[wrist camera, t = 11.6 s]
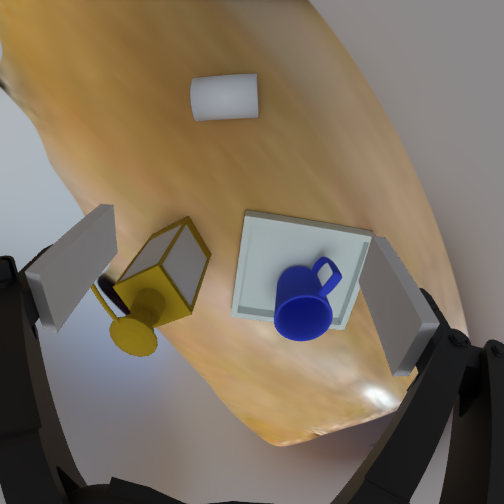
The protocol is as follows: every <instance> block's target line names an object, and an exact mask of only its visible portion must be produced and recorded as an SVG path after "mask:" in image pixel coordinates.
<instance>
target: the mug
mask: <svg viewBox="0 0 504 504" xmlns="http://www.w3.org/2000/svg"><path fill="white" fill-rule="evenodd" d="M326 263H328V264H329V266H330V268H331V270H332V272H333V274H332V276H331V277H330V278H329V279H328V281H327V282H326V283H325V284H324V285H323V287H322V284H321V282H320V280H319V278H318V276H317V274H318V272H319V270H320V269H321V267H322V266H323V265H324V264H326ZM341 279H342V274H341V273H340V271H339V269H338V267H337V266H336V264H335V263H334V262H333V261H332V260H331V259H329V258H327V257H320V258H319V259H318V260H317V261H316V262H315V264H314V265H313V267H312V270H311V269H309V268H307V267H303V266H296V267H292V268H289V269H287V270H286V271H285V272H283V273H282V275H281V276H280V278H279V280H278V283H277V290H276V301H275V311H274V324H275V327H276V329H277V331H278V332H279V333H280V334H281V335H282V336H284V337H285V338H288V339H290V340H294V341H308V340H312V339H315V338H317V337H319V336H321V335H322V334H323V333H325V332H326V331H327V329H328V328H329V327H330V325H331V323H332V319H333V312H332V308H331V306H330V304H329V301H328V299H327V296H326V295H328V294H329V293H330V292H331V291H332V290H333V289H334V288H335V287H336V286H337V285H338V283H339V282H340V281H341Z"/></svg>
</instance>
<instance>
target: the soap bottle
mask: <svg viewBox="0 0 504 504" xmlns="http://www.w3.org/2000/svg"><path fill="white" fill-rule="evenodd" d="M210 257H211V253H210V251H209V249H208V248H207V246H206V244H205V243H204V241H203V239H202V238H201V236H200V234H199V232H198V231H197V229H196V227H195V226H194V224H193V222H192V221H191V219H190V217H189V216H188V217H186V218H184V219H182V220H180V221H178V222H176V223H174V224H172V225H170V226H168V227H166V228H164V229H162V230H160V231H158V232H156V233H154V234H152V235H151V237H150V238H149V239H148V240H147V242H146V243H145V244H144V246H143V247H142V248H141V250H140V251H139V252H138V254H137V255H136V256H135V257H134V259H133V260H132V261H131V263H130V264H129V266H128V267H127V268H126V270H125V271H124V272H123V274H122V275H121V276H120V278H119V279H118V281H117V282H116V283H115V286H113V288H114V289H115V291H116V292H117V293H118V295H119V296H120V298H121V299H122V300H123V302H124V303H125V304H126V306H127V307H128V308H129V310H130V312H131V314H130V315H126V316H125V317H119V318H117V317H116V315H115V314H114V313H113V311H112V310H111V309H110V307H109V306H108V305H107V303H106V302H105V300H104V299H103V298H102V296H101V295H100V293H99V291H98V290H97V288H96V286H95V285H94V283H93V284H92V286H91V289H92V291H93V292H94V294H95V296H96V297H97V299H98V300H99V301H100V303H101V304H102V306H103V307H104V309H105V310H106V311H107V312H108V314H109V315H110V316H111V318H112V319H113V320H114V321H113V322H112V323H111V326H110V329H109V330H110V336H111V338H112V340H113V341H114V343H115V344H116V345H117V346H118V347H119V348H120V349H121V350H122V351H124V352H126V353H128V354H130V355H134V356H139V357H141V356H149V355H150V354H152V353H154V352H155V350H156V348H157V346H158V345H157V337H156V335H155V334H154V328H155V327H158V326H161V325H164V324H166V323H169V322H172V321H175V320H177V319H180V318H183V317H186V316H188V315H191V314H192V311H193V309H194V306H195V303H196V300H197V296H198V293H199V290H200V287H201V284H202V281H203V278H204V275H205V272H206V269H207V266H208V263H209V260H210Z"/></svg>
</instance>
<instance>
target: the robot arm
mask: <svg viewBox="0 0 504 504" xmlns="http://www.w3.org/2000/svg"><path fill="white" fill-rule="evenodd" d="M117 252H118V251H117V241H116V230H115V218H114V205H108V204H100V205H99V206H98V207H97V208H95V209H94V210H93V211H92V212H90V213H89V214H88V215H87V216H86V217H84V218H83V219H82V220H81V221H80V222H78V223H77V224H76V225H75V226H74V227H73V228H71V229H70V230H69V231H68V232H67V233H66V234H65V235H63V236H62V237H61V238H60V239H59V240H58V241H57V242H56V243H54V244H52V245H50V246H48V247H46V248H44V249H43V250H42V251H41V252H40V253H38V255H37V256H35V257H34V258H33V259H32V261H30V262H29V263H28V264H27V265H26V266H25V267H24V268H23V269H22V270H21V271H19V272H17V268H16V264H15V260H14V258H13V257H11V256H0V484H1V488H2V491H3V495H4V498H5V502H6V504H186V503H183V502H181V501H179V500H176V499H174V498H172V497H169V496H167V495H165V494H163V493H161V492H158V491H156V490H154V489H152V488H150V487H147V486H143V485H139V484H135V483H132V482H128V481H124V480H121V479H118V478H114V477H112V478H111V481H110V484H97V485H90V486H87V484H86V482H85V481H84V479H83V477H82V476H81V474H80V473H79V471H78V469H77V467H76V465H75V462H74V460H73V457H72V455H71V452H70V450H69V447H68V445H67V441H66V439H65V436H64V433H63V430H62V427H61V424H60V421H59V418H58V415H57V412H56V409H55V405H54V401H53V398H52V395H51V391H50V387H49V383H48V379H47V376H46V371H45V366H44V362H43V357H42V352H41V348H40V342H39V337H38V331H37V328H36V325H35V323H36V321H37V320H38V319H39V318H40V321H41V323H42V326H43V328H44V329H46V330H50V331H53V332H57V333H58V332H59V330H60V328H61V327H62V326H63V324H64V323H65V321H66V320H67V318H68V317H69V316H70V314H71V313H72V312H73V310H74V309H75V307H76V306H77V305H78V303H79V302H80V300H81V299H82V298H83V296H84V295H85V294H86V292H87V291H88V290H89V288H90V287H91V286H92V284H93V283H94V282H95V280H96V279H97V278H98V276H99V275H100V274H101V273H102V271H103V270H104V269H105V267H106V266H107V265H108V263H109V262H110V261H111V260H112V259H113V257H114V256H115V255H116V254H117ZM358 282H359V285H360V288H361V290H362V293H363V295H364V298H365V300H366V303H367V305H368V308H369V311H370V313H371V316H372V319H373V321H374V324H375V327H376V330H377V332H378V335H379V338H380V341H381V343H382V346H383V349H384V352H385V355H386V358H387V361H388V364H389V367H390V370H391V373H392V376H409V375H410V373H411V372H412V370H413V369H414V367H415V365H416V367H417V370H418V372H419V373H418V374H417V376H416V377H415V379H414V380H413V382H412V383H411V385H410V386H409V388H408V389H407V391H408V392H407V394H406V396H405V397H404V399H403V401H402V403H401V404H400V406H399V408H398V409H397V411H396V413H395V415H394V416H393V418H392V419H391V421H390V423H389V424H388V426H387V427H386V429H385V431H384V432H383V434H382V435H381V437H380V438H379V440H378V441H377V443H376V444H375V446H374V447H373V449H372V450H371V452H370V453H369V455H368V456H367V457H366V459H365V460H364V461H363V463H362V464H361V466H360V467H359V468H358V470H357V471H356V472H355V474H354V475H353V476H352V478H351V479H350V480H349V481H348V483H347V484H346V485H345V487H344V488H343V489H342V490H341V492H340V493H339V494H338V495H337V496H336V498H335V499H334V500H333V501H332V502H331V503H330V504H410V503H409V502H410V499H411V497H412V495H413V493H414V491H415V489H416V488H417V486H418V484H419V482H420V480H421V478H422V476H423V474H424V472H425V470H426V468H427V466H428V464H429V462H430V460H431V458H432V456H433V454H434V452H435V449H436V447H437V445H438V443H439V440H440V438H441V436H442V433H443V431H444V428H445V426H446V423H447V421H448V418H449V415H450V413H451V410H452V408H453V405H454V408H453V421H452V431H451V439H450V447H449V454H448V461H447V467H446V473H445V478H444V483H443V488H442V493H441V497H440V502H439V504H504V344H503V343H501V342H499V341H496V340H489V341H487V343H486V344H485V346H484V347H483V348H480V347H476V346H472V345H471V342H470V340H469V338H468V337H467V336H466V335H465V334H464V333H462V332H461V331H459V330H457V329H452V328H450V326H449V324H448V322H447V321H446V319H445V317H444V316H443V314H442V312H441V311H439V308H438V306H437V304H436V303H435V301H434V300H433V298H432V296H431V295H430V294H429V293H428V292H427V291H425V290H424V289H423V288H418V286H417V284H416V283H415V281H414V280H413V278H412V276H411V275H410V273H409V272H408V270H407V269H406V267H405V266H404V264H403V263H402V261H401V260H400V258H399V257H398V255H397V254H396V252H395V251H394V249H393V248H392V246H391V245H390V243H389V242H388V240H387V239H386V238H385V237H378V236H372V238H371V242H370V245H369V248H368V252H367V255H366V258H365V261H364V265H363V268H362V271H361V274H360V277H359V280H358ZM209 504H271V503H249V502H238V501H230V502H220V503H209Z"/></svg>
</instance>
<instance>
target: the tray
mask: <svg viewBox="0 0 504 504" xmlns="http://www.w3.org/2000/svg"><path fill="white" fill-rule="evenodd" d="M372 236H375V234H374V233H373V232H372V231H369V230H364V229H359V228H353V227H348V226H342V225H336V224H331V223H325V222H319V221H313V220H307V219H301V218H295V217H289V216H283V215H276V214H270V213H264V212H257V211H250V210H246V213H245V219H244V226H243V233H242V240H241V247H240V254H239V261H238V268H237V275H236V282H235V289H234V296H233V303H232V311H231V317H237V318H245V319H252V320H259V321H267V322H274V311H275V301H276V290H277V283H278V280H279V278H280V276H281V275H282V273H283V272H285V271H286V270H287V269H289V268H292V267H296V266H303V267H307V268H309V269H311V270H312V267H313V265H314V264H315V262H316V261H317V260H318V259H319V258H320V257H327V258H329V259H331V260H332V261H333V262H334V263H335V264H336V266H337V267H338V269H339V271H340V273H341V274H342V279H341V281H340V282H339V283H338V285H337V286H336V287H335V288H334V289H333V290H332V291H331V292H330V293H329V294H328V295H326V296H327V299H328V301H329V304H330V306H331V308H332V312H333V319H332V323H331V325H330V327H329V328H328V329H339V330H344V329H345V326H346V324H347V321H348V319H349V316H350V313H351V311H352V308H353V306H354V303H355V300H356V298H357V295H358V292H359V289H360V285H359V282H358V280H359V277H360V274H361V271H362V268H363V265H364V261H365V258H366V255H367V252H368V248H369V245H370V242H371V238H372ZM332 274H333V272H332V270H331V268H330V266H329V264H328V263H326V264H324V265H323V266H322V267H321V269H320V270H319V272H318V274H317V276H318V278H319V280H320V282H321V284H322V287H323V285H324V284H325V283H326V282H327V281H328V279H329V278H330V277H331V276H332Z"/></svg>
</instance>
